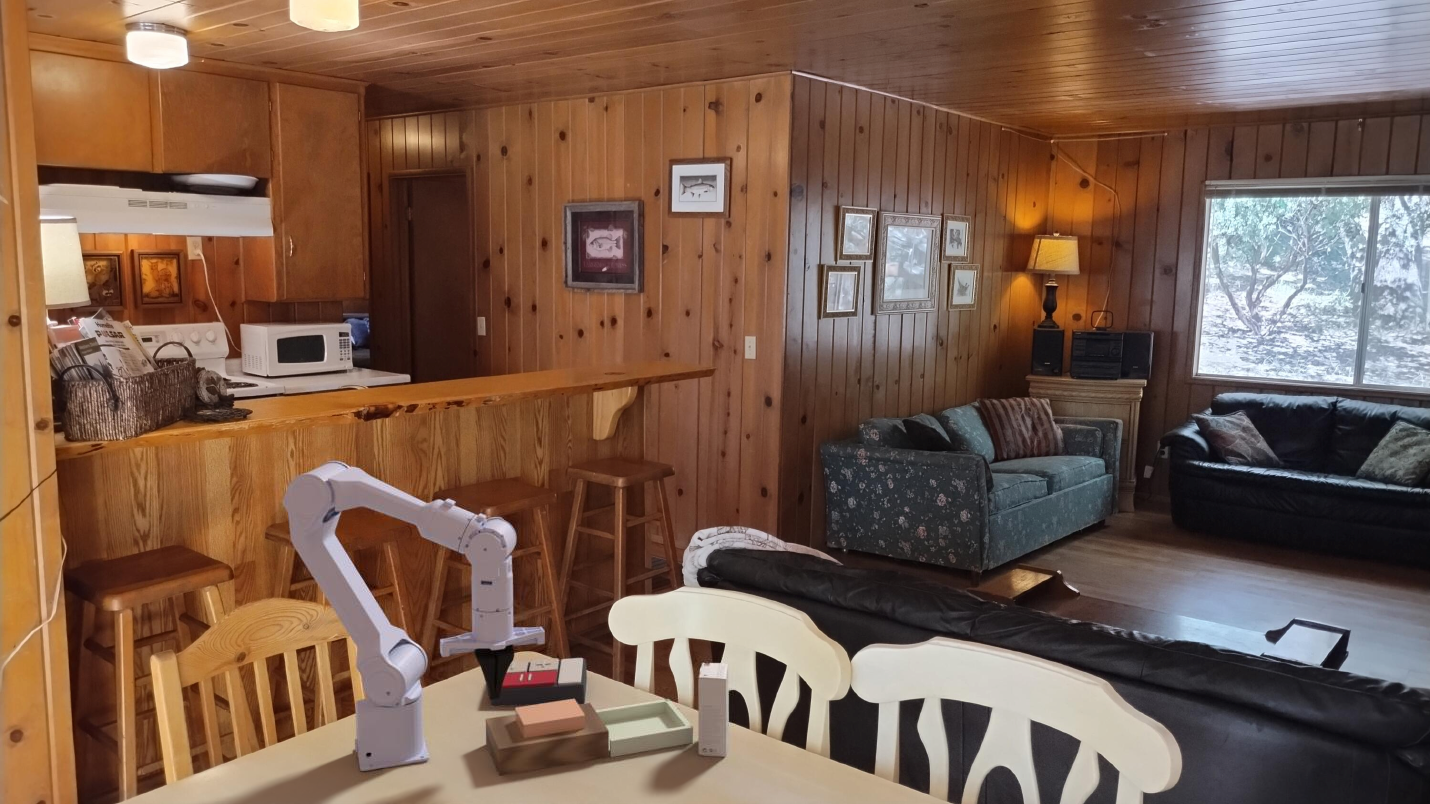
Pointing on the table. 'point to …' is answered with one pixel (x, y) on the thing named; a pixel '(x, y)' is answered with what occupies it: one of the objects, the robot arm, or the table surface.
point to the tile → (549, 718)
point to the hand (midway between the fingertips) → (493, 696)
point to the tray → (645, 727)
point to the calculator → (543, 682)
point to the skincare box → (713, 709)
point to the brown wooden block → (545, 744)
